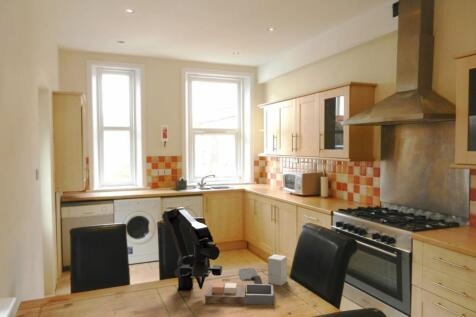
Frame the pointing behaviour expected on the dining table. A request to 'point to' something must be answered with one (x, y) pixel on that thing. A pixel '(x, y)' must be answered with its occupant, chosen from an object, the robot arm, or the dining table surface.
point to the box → (260, 294)
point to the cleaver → (250, 275)
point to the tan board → (226, 296)
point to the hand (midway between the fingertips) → (201, 288)
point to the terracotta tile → (218, 287)
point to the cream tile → (230, 288)
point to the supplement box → (277, 269)
